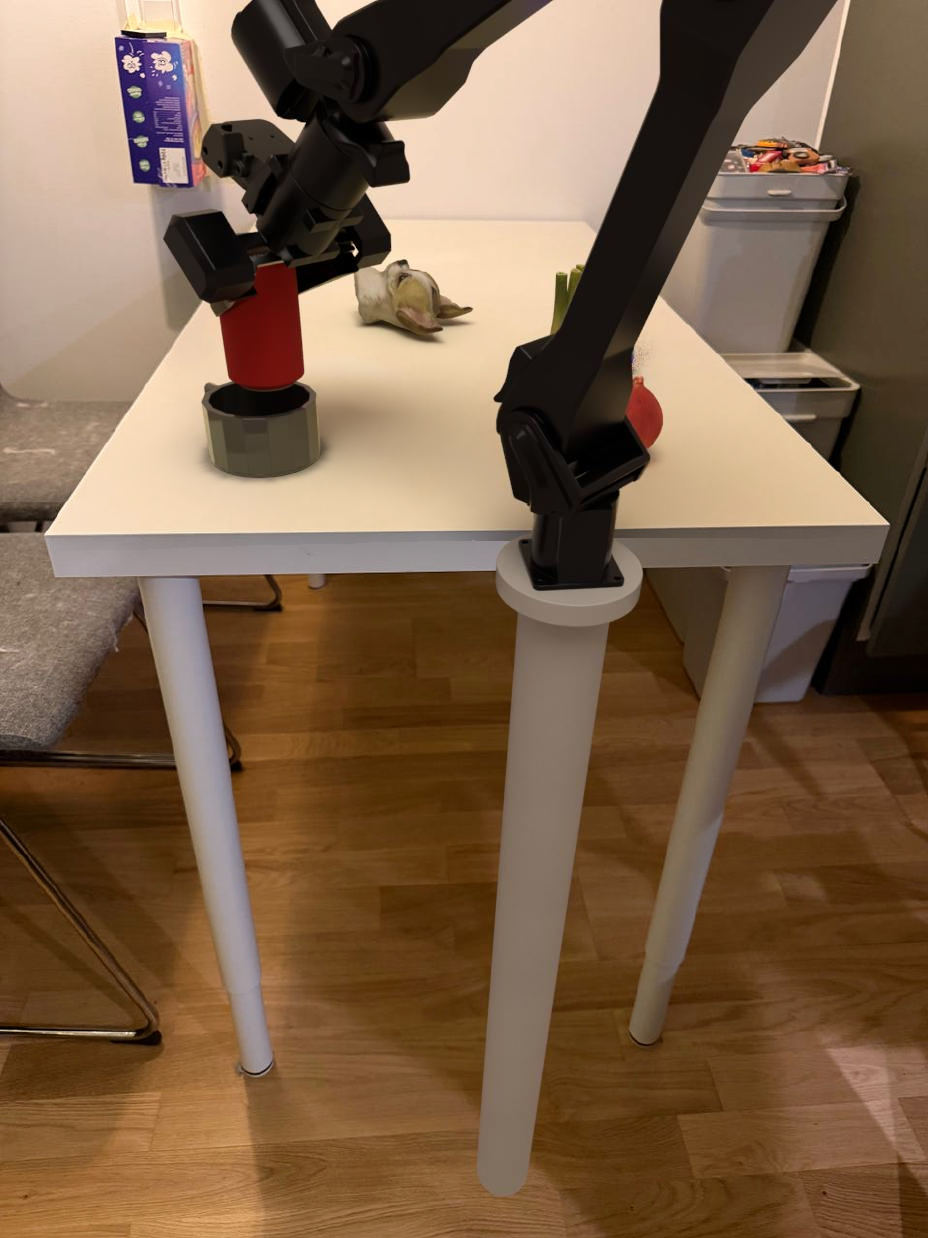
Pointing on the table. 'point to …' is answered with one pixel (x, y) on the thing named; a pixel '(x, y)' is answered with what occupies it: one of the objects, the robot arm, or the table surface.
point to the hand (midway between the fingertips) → (249, 303)
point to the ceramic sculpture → (403, 298)
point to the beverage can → (266, 333)
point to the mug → (261, 429)
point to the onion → (644, 412)
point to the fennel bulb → (564, 294)
